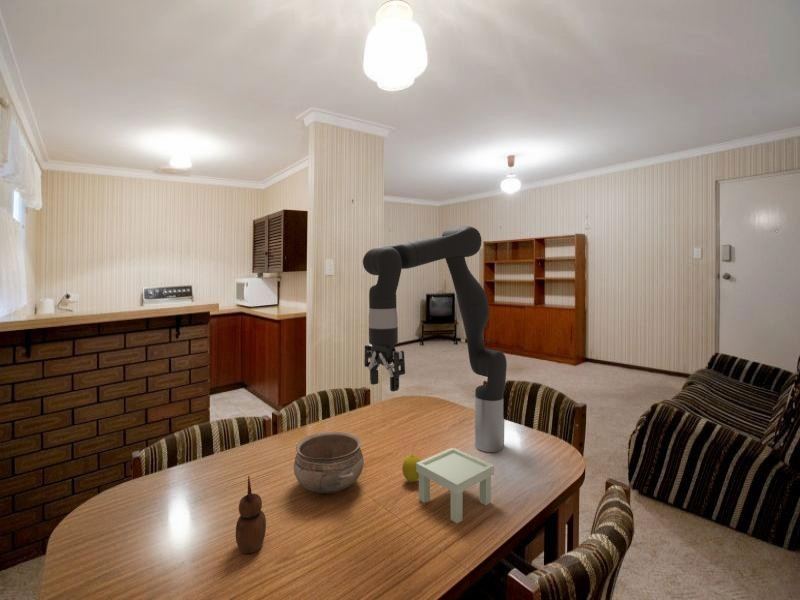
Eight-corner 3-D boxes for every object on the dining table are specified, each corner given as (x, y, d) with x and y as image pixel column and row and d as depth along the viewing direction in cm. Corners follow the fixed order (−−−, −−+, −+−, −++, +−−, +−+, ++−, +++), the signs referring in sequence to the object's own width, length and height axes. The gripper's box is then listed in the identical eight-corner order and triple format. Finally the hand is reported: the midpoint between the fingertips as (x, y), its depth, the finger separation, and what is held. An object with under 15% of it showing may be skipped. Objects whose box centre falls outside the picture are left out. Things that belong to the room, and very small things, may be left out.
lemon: (420, 488, 108) (420, 460, 107) (400, 486, 109) (400, 458, 108) (423, 478, 113) (423, 451, 112) (404, 476, 114) (404, 449, 114)
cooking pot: (282, 477, 114) (281, 436, 113) (342, 460, 124) (341, 422, 123) (312, 523, 93) (311, 472, 92) (382, 498, 103) (381, 452, 102)
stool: (452, 481, 111) (452, 447, 111) (493, 502, 101) (493, 465, 100) (416, 499, 102) (416, 462, 102) (457, 525, 92) (457, 484, 91)
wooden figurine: (242, 537, 88) (240, 472, 87) (269, 536, 88) (267, 471, 87) (232, 559, 81) (230, 489, 80) (261, 557, 82) (259, 487, 81)
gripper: (412, 326, 98) (413, 390, 99) (378, 322, 109) (379, 379, 110) (388, 329, 94) (389, 396, 95) (355, 324, 105) (356, 384, 106)
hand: (384, 387), depth 103 cm, fingers open, 8 cm apart
